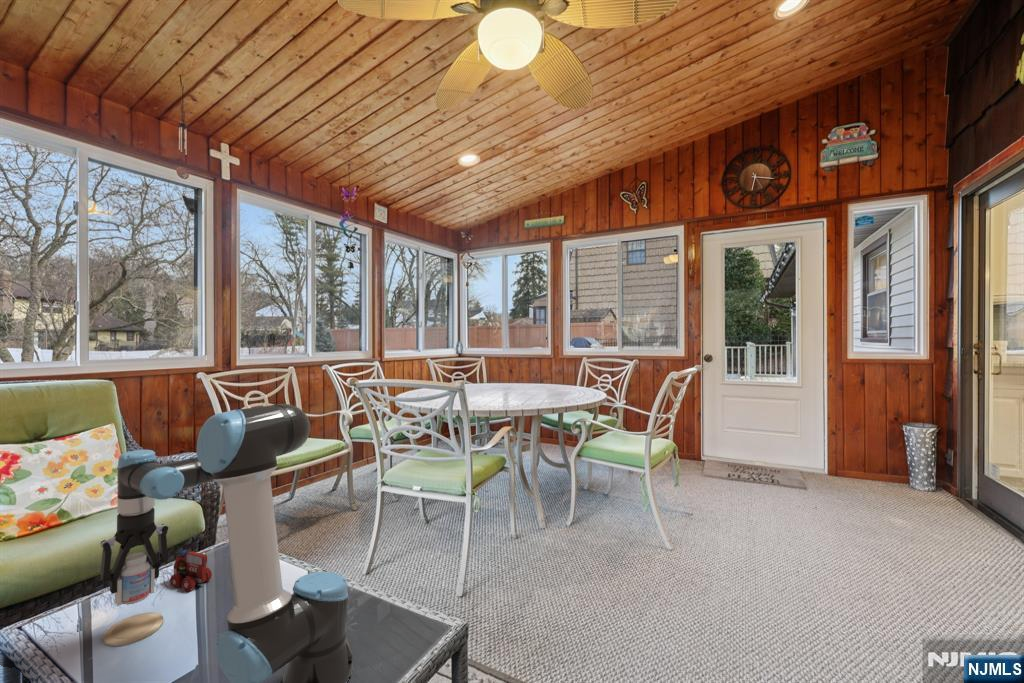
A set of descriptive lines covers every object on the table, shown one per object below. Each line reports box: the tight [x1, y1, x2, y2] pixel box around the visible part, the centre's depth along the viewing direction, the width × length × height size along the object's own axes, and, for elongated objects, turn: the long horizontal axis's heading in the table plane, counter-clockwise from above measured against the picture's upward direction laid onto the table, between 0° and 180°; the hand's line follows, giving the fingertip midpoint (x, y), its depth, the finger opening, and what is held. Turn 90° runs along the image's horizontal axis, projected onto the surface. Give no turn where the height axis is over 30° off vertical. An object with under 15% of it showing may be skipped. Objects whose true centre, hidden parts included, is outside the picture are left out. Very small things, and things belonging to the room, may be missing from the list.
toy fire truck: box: [169, 549, 213, 592], centre depth 138 cm, size 7×12×10 cm, turn 72°
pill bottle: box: [119, 551, 151, 605], centre depth 116 cm, size 6×6×11 cm
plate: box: [102, 612, 164, 647], centre depth 117 cm, size 12×12×1 cm
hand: (134, 597), depth 116 cm, fingers closed on pill bottle, 6 cm apart
